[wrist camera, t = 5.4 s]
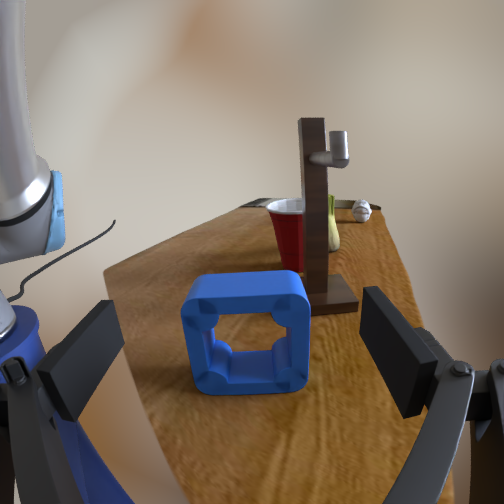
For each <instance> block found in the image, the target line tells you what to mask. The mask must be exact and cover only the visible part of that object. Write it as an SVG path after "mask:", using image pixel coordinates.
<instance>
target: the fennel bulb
mask: <svg viewBox="0 0 504 504" xmlns="http://www.w3.org/2000/svg"><path fill="white" fill-rule="evenodd" d="M328 211H329V252H332V251H336V250H338V248H339V247H340V244H339V241H340V240H339V234H338V231H337V228H336V223H335V217H334V195H330V194H328Z"/></svg>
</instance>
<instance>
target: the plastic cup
mask: <svg viewBox="0 0 504 504" xmlns="http://www.w3.org/2000/svg"><path fill="white" fill-rule="evenodd" d="M265 207H266V209H267V211H269V213H270V217H271V219H272V222H273V226H274V230H275V235H276V240H277V244H278V249H279V251H280V256H281V261H282V264H283V267H284V269H285V270H290V271H293V272H304V270H303V217H302V198H291V199H283V200H278V201H274V202H271V203H269V204H267V205H266V206H265Z"/></svg>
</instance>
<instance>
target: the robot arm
mask: <svg viewBox="0 0 504 504" xmlns="http://www.w3.org/2000/svg"><path fill="white" fill-rule="evenodd" d="M25 6H26V0H0V264H4V263H8V262H12V261H17V260H20V259H25V258H30V257H34V256H39V255H45V254H46V253H48V252H52V251H55V250H58V249H60V248H61V247H62V246H63V245H64V242H65V224H64V213H63V189H62V175H61V173H60V172H59V171H50V169H49V166H48V164H47V162H46V161H45V160H44V159H43V158H42V157H40V156H38V155H36V153H35V149H34V142H33V136H32V130H31V123H30V116H29V108H28V98H27V88H26V74H25V44H24V37H25V35H24V34H25ZM115 221H116V220H114V221H113V224H112V225H111V226H110V227H109V228H108V229H107V230H106V231H105V232H103V233H101V234H100V235H98V236H97V237H95V238H93V239H92V240H89V241H88V242H86V243H84V244H82V245H80V246H78V247H76V248H75V249H73V250H71V251H69V252H67V253H65V254H63V255H62V256H60V257H58V258H56V259H55V260H53V261H51V262H49V263H48V264H46V265H44V266H43V267H41V268H40V269H38V270H37V271H35V272H34V273H32V274H30V275H29V276H27V277H26V278H25V279H24V280H23V281H22V282H21V285H20V292H19V293H18V294H17V295H15V296H12V297H10V298H8V299H6V298H5V296H4V295H3V293H2V292H1V290H0V344H1V343H3V342H4V341H5V340H7V339H8V338H9V337H10V336H11V335H12V333H13V332H14V331H15V329H16V327H17V324H18V321H17V318H16V315H15V312H14V310H13V308H12V307H11V305H10V304H9V303H10V302H12V301H14V300H16V299H19V298H20V297H21V296H22V295H23V293H24V284H25V283H26V282H27V281H28V280H30V279H31V278H32V277H34V276H35V275H37V274H38V273H40V272H41V271H43V270H44V269H46V268H48V267H49V266H51V265H52V264H54V263H56V262H57V261H59V260H61V259H62V258H64V257H66V256H68V255H70V254H72V253H73V252H75V251H77V250H79V249H81V248H82V247H84V246H86V245H88V244H89V243H91V242H93V241H95V240H97V239H98V238H100V237H101V236H103V235H104V234H106V233H107V232H108V231H110V230H111V229H112V227H113V226H114V224H115ZM359 334H360V336H361V338H362V339H363V341H364V343H365V345H366V347H367V349H368V351H369V352H370V354H371V356H372V358H373V360H374V362H375V364H376V366H377V368H378V370H379V371H380V373H381V375H382V377H383V379H384V381H385V383H386V385H387V387H388V389H389V391H390V393H391V395H392V397H393V399H394V401H395V403H396V405H397V407H398V409H399V411H400V413H401V415H402V417H403V419H406V418H410V417H413V416H417V415H420V414H421V412H422V409H423V406H424V404H425V406H426V407H427V409H428V413H427V416H426V418H425V420H424V423H423V425H422V428H421V430H420V432H419V435H418V437H417V439H416V441H415V443H414V446H413V448H412V450H411V452H410V454H409V456H408V458H407V460H406V462H405V464H404V466H403V468H402V470H401V472H400V474H399V475H398V477H397V479H396V481H395V483H394V485H393V486H392V488H391V490H390V492H389V493H388V495H387V497H386V498H385V500H384V502H383V503H382V504H437V502H438V500H439V497H440V495H441V492H442V490H443V487H444V485H445V482H446V480H447V477H448V474H449V472H450V469H451V466H452V463H453V460H454V457H455V454H456V451H457V448H458V444H459V441H460V437H461V434H462V430H463V427H464V423H465V421H470V434H471V481H470V499H469V504H504V359H497V360H495V361H493V362H492V364H491V366H490V369H489V370H485V371H474V369H473V367H472V366H471V365H469V364H468V363H466V362H463V361H454V360H453V359H452V357H451V356H450V355H449V354H448V353H447V352H446V350H445V349H444V348H443V347H442V346H441V345H440V343H439V342H438V341H437V340H435V338H434V337H433V335H432V334H431V333H430V332H429V331H427V330H425V329H423V328H422V327H419V328H413V327H412V326H411V325H410V324H409V322H408V321H407V320H406V319H405V318H404V316H403V315H402V314H401V313H400V312H399V311H398V309H397V308H396V307H395V306H394V305H393V304H392V302H391V301H390V300H389V299H388V298H387V297H386V295H385V294H384V293H383V292H382V291H381V290H380V289H379V288H378V286H371V287H363V299H362V311H361V322H360V331H359ZM124 344H125V343H124V339H123V336H122V332H121V329H120V325H119V321H118V318H117V314H116V310H115V306H114V302H113V300H101V301H100V302H99V303H98V304H97V305H96V306H95V307H94V308H93V309H92V310H91V311H90V312H89V313H88V314H87V315H86V316H85V317H84V318H83V319H82V320H81V321H80V322H79V324H78V325H77V326H76V327H75V328H74V329H73V330H72V331H71V332H70V333H69V334H68V335H67V336H66V337H65V338H64V339H63V341H61V342H60V343H58V344H57V345H55V346H54V347H52V349H50V350H49V352H48V353H47V354H46V355H45V356H44V357H43V359H41V360H40V361H39V362H38V364H37V365H36V366H35V367H34V368H33V369H32V370H31V371H29V369H28V367H27V365H26V362H25V360H24V358H23V357H21V356H14V357H11V358H8V359H6V360H5V361H4V362H3V363H2V364H1V365H0V370H1V373H2V375H3V377H4V378H5V380H6V382H7V383H0V504H14V484H15V478H16V483H17V488H18V493H19V498H20V502H21V504H84V501H83V499H82V497H81V494H80V492H79V489H78V487H77V484H76V482H75V479H74V476H73V474H72V471H71V468H70V465H69V462H68V459H67V456H66V453H65V450H64V447H63V444H62V440H61V437H60V434H59V430H58V426H57V423H56V420H55V418H54V417H53V414H54V413H55V411H56V410H57V412H58V414H59V415H60V417H61V419H62V420H65V421H70V422H74V423H76V421H77V419H78V417H79V416H80V414H81V412H82V411H83V409H84V407H85V406H86V404H87V402H88V401H89V399H90V397H91V396H92V394H93V392H94V391H95V389H96V388H97V386H98V384H99V383H100V381H101V380H102V378H103V376H104V375H105V373H106V372H107V370H108V368H109V367H110V365H111V364H112V362H113V361H114V359H115V357H116V356H117V354H118V353H119V351H120V350H121V348H122V347H123V345H124Z"/></svg>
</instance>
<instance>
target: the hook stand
mask: <svg viewBox="0 0 504 504" xmlns="http://www.w3.org/2000/svg"><path fill="white" fill-rule="evenodd" d="M298 132H299V147H300V165H301V166H300V167H301V188H302V217H303V270H304V277H300V279H301V281H302V284H303V287H304V290H305V292H306V295H307V298H308V301H309V304H310V316H313V315H325V314H336V313H346V312H356V311H358V306H359V301H358V299H357V298H356V296H355V295H354V293H353V292H352V290H351V289H350V287H349V286H348V284H347V283H346V282H345V280H344V279H343V277H342V276H341V274H334V275H328V261H329V211H328V173H327V167H334V168H344V167H346V166H347V165H348V163H349V156H348V141H347V132H346V131H330V132H329V138H330V151H327V150H326V133H325V119H324V118H300V119H299V120H298Z"/></svg>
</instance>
